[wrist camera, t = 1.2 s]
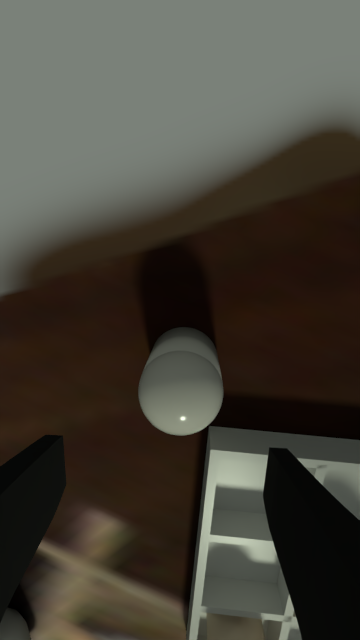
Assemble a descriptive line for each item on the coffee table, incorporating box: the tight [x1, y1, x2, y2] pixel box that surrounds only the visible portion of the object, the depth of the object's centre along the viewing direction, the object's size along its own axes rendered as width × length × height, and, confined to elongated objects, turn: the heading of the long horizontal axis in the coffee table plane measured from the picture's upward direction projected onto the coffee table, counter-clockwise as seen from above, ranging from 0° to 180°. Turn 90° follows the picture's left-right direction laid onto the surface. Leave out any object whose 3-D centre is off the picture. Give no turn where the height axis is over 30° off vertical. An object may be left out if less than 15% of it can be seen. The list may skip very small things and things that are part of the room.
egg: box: [138, 327, 223, 435], centre depth 17 cm, size 4×4×7 cm
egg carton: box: [186, 426, 360, 640], centre depth 20 cm, size 14×20×7 cm
